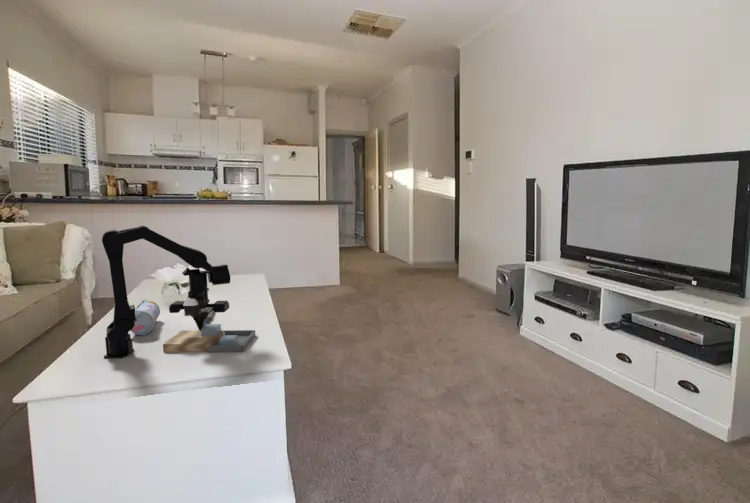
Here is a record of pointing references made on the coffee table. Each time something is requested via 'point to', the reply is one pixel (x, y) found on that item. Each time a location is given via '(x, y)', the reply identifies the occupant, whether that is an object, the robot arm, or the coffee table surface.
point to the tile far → (210, 329)
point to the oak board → (191, 341)
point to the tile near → (228, 340)
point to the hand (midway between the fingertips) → (201, 330)
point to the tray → (243, 341)
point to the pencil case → (145, 317)
